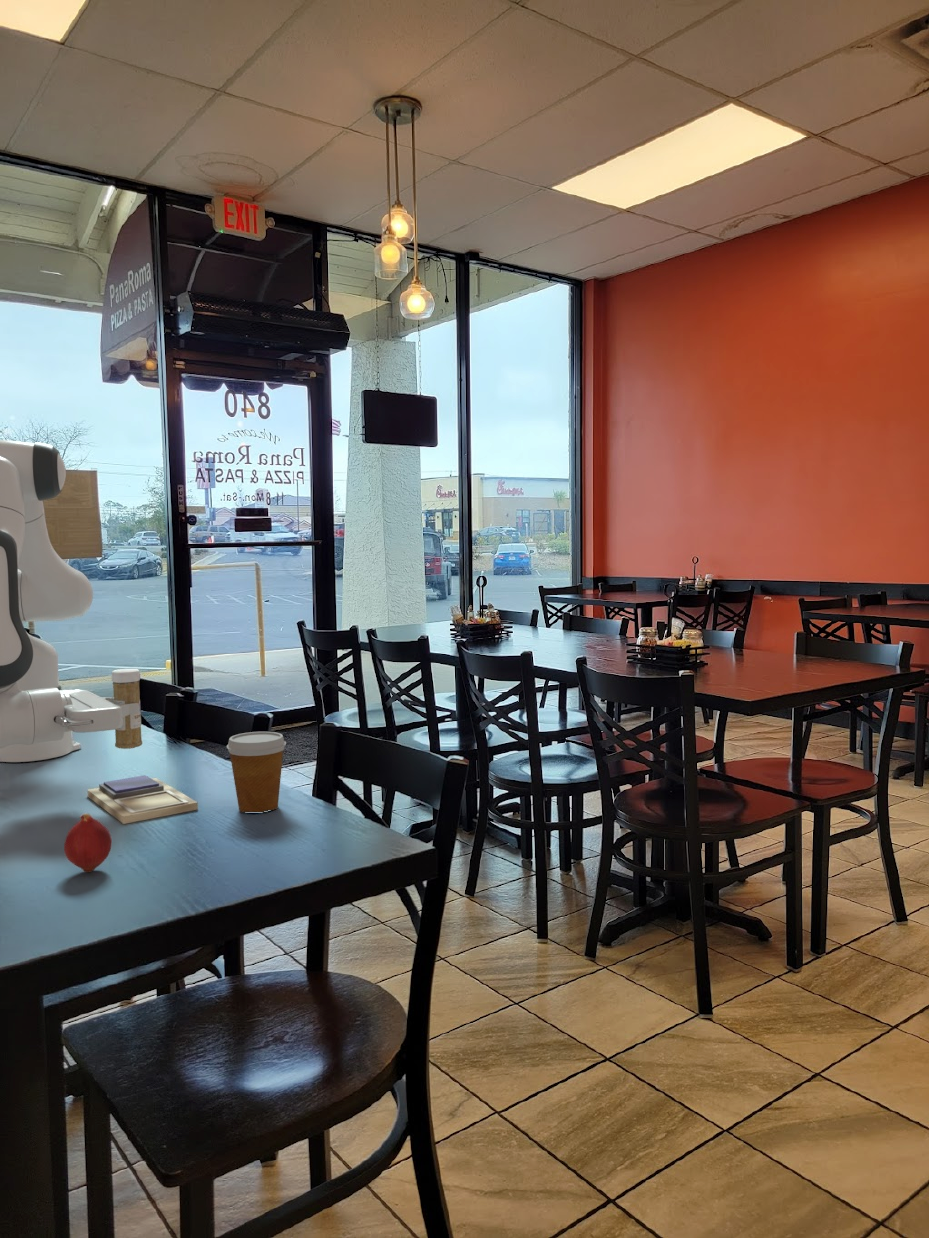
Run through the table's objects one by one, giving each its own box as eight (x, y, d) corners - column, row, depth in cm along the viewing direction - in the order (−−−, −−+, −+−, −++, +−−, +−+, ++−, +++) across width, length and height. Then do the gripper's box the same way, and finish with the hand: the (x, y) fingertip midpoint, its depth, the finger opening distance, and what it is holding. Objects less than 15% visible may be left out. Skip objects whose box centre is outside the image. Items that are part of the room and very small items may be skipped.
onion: (78, 863, 123) (75, 806, 122) (119, 863, 123) (117, 806, 122) (57, 879, 117) (54, 819, 117) (101, 879, 117) (98, 819, 116)
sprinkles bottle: (145, 747, 155) (142, 670, 153) (117, 750, 152) (114, 672, 151) (139, 741, 159) (136, 666, 157) (112, 745, 156) (109, 669, 155)
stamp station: (87, 796, 156) (86, 782, 156) (156, 784, 163) (155, 771, 163) (123, 823, 140) (122, 809, 140) (197, 809, 148) (197, 795, 147)
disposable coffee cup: (216, 814, 145) (214, 741, 144) (250, 798, 154) (248, 729, 153) (267, 819, 142) (265, 745, 141) (298, 803, 151) (296, 733, 150)
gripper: (63, 706, 138) (152, 695, 147) (32, 687, 154) (114, 679, 163) (65, 746, 139) (154, 733, 147) (33, 723, 155) (115, 713, 164)
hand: (133, 704), depth 155 cm, fingers closed on sprinkles bottle, 4 cm apart
